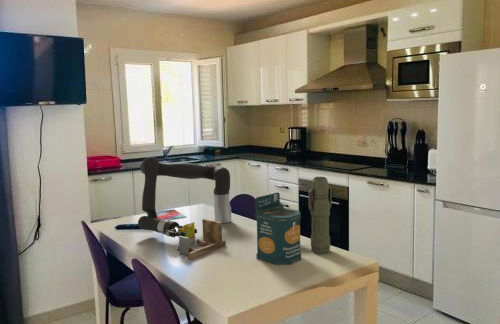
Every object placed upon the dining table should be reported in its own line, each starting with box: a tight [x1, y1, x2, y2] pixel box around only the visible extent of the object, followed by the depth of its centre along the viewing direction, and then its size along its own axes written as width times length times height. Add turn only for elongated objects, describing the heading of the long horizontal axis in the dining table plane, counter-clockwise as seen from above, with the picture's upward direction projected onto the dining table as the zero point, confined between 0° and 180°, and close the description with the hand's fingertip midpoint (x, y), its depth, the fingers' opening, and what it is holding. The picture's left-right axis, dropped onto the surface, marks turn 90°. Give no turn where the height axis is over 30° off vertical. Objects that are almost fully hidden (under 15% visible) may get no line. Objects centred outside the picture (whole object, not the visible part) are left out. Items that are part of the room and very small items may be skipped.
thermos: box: [307, 176, 333, 255], centre depth 198 cm, size 9×12×35 cm
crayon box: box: [180, 221, 197, 248], centre depth 210 cm, size 7×3×12 cm, turn 140°
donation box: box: [254, 192, 302, 266], centre depth 191 cm, size 16×16×28 cm
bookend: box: [178, 236, 189, 258], centre depth 199 cm, size 6×4×9 cm, turn 52°
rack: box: [176, 218, 227, 261], centre depth 206 cm, size 14×24×12 cm, turn 142°
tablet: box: [156, 209, 187, 221], centre depth 277 cm, size 19×25×1 cm
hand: (190, 233), depth 208 cm, fingers closed on crayon box, 7 cm apart
